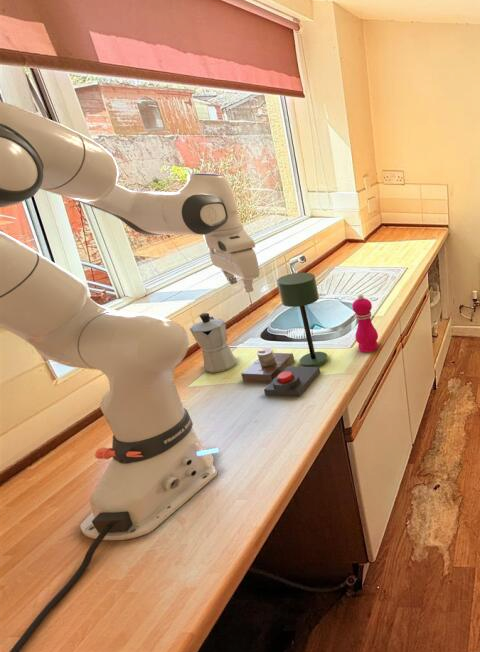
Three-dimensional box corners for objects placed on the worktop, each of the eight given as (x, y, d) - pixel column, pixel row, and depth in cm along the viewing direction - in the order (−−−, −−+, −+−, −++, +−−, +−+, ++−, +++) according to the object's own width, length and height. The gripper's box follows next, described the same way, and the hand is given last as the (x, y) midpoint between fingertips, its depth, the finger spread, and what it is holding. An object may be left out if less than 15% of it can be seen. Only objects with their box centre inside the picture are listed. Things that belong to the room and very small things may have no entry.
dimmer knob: (278, 359, 124) (274, 347, 123) (270, 366, 121) (267, 354, 119) (265, 359, 125) (262, 347, 123) (257, 366, 121) (254, 354, 119)
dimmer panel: (272, 383, 118) (270, 374, 117) (243, 382, 119) (240, 373, 117) (294, 361, 129) (292, 353, 128) (267, 360, 130) (265, 352, 128)
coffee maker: (238, 370, 124) (221, 318, 117) (203, 379, 119) (184, 326, 112) (236, 349, 135) (221, 301, 128) (204, 357, 131) (187, 307, 123)
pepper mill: (352, 350, 136) (343, 296, 128) (368, 341, 142) (360, 289, 134) (368, 355, 133) (359, 300, 125) (383, 346, 139) (376, 293, 131)
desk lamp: (322, 371, 124) (303, 285, 112) (290, 370, 125) (269, 283, 113) (336, 354, 133) (320, 273, 122) (307, 353, 134) (288, 272, 122)
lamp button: (288, 383, 112) (287, 378, 111) (276, 383, 112) (274, 378, 112) (295, 376, 115) (294, 371, 115) (283, 375, 116) (282, 370, 115)
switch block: (299, 397, 112) (296, 386, 111) (265, 396, 113) (261, 384, 111) (320, 373, 123) (318, 362, 122) (289, 372, 124) (286, 361, 122)
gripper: (195, 233, 106) (211, 282, 112) (229, 247, 95) (245, 300, 101) (221, 229, 110) (236, 275, 116) (257, 241, 100) (271, 292, 106)
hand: (240, 287), depth 109 cm, fingers open, 8 cm apart
